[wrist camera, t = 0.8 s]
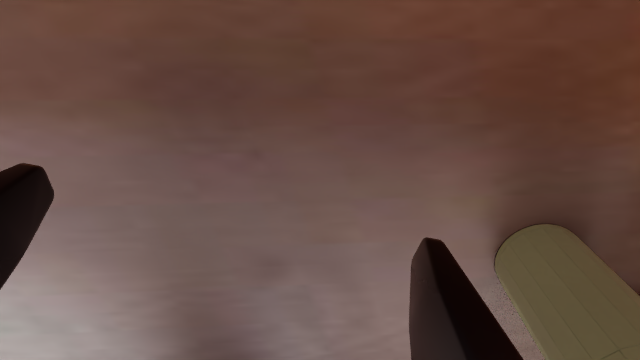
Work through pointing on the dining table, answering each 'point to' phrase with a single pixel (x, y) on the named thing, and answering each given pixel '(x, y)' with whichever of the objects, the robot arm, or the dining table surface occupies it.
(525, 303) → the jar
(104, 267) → the dining table surface
